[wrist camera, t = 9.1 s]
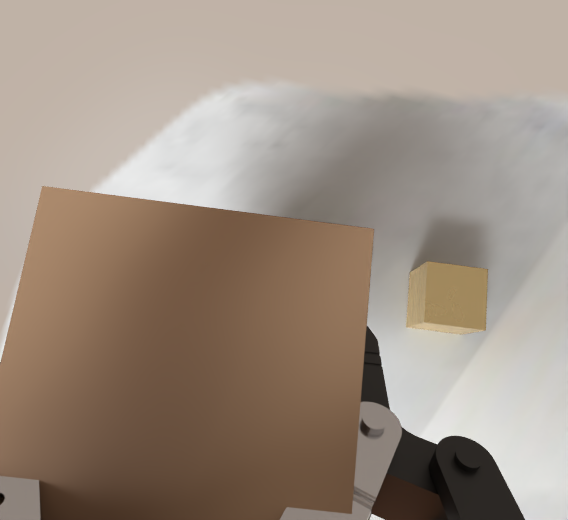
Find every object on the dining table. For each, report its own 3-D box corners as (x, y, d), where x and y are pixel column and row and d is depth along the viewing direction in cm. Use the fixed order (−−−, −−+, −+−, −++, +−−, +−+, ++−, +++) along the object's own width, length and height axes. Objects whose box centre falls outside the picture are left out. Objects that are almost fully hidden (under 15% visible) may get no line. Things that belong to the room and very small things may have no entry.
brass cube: (463, 279, 28) (487, 269, 25) (460, 334, 27) (485, 330, 24) (409, 272, 28) (427, 261, 25) (405, 327, 27) (423, 322, 24)
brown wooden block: (310, 304, 19) (374, 228, 9) (292, 470, 18) (345, 596, 8) (153, 285, 19) (42, 185, 9) (124, 451, 18) (-45, 555, 8)
